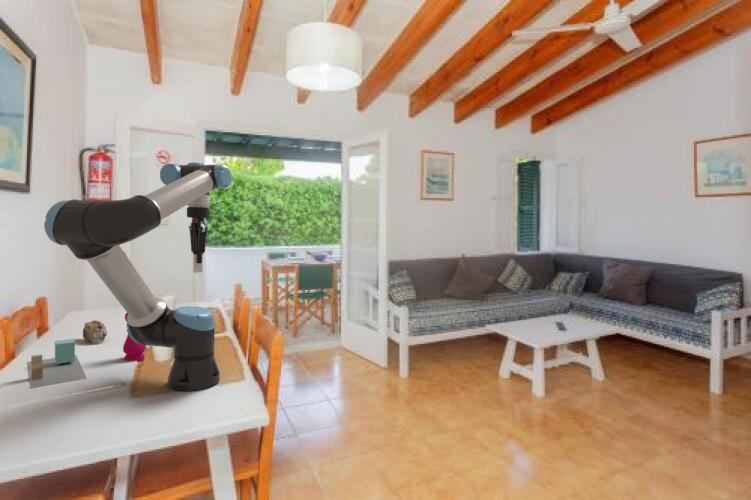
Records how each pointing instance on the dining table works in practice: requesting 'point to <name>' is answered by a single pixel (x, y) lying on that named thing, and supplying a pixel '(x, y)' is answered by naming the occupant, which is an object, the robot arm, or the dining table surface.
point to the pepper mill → (133, 349)
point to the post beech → (36, 367)
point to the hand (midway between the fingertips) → (197, 272)
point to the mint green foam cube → (64, 351)
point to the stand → (57, 373)
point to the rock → (94, 332)
